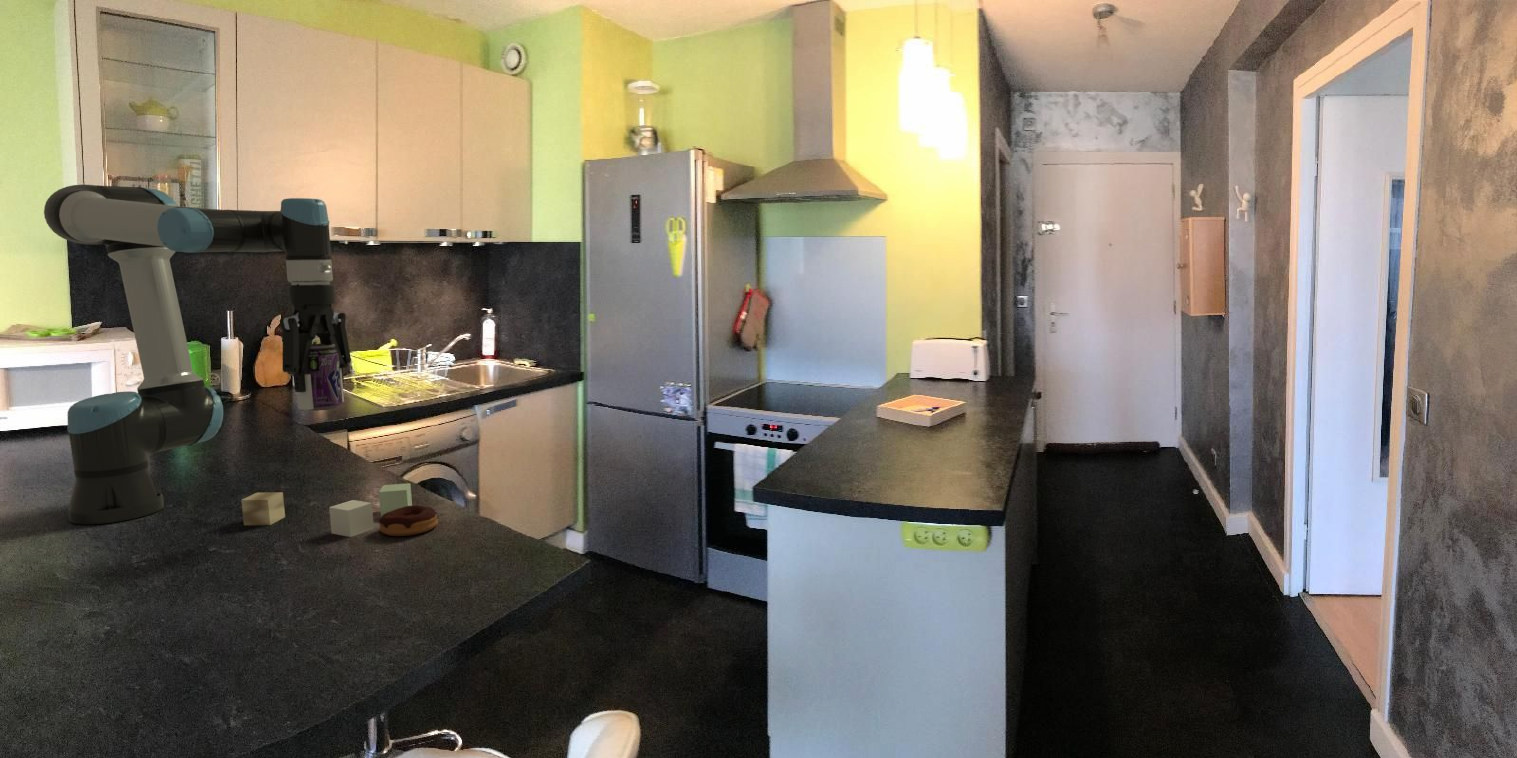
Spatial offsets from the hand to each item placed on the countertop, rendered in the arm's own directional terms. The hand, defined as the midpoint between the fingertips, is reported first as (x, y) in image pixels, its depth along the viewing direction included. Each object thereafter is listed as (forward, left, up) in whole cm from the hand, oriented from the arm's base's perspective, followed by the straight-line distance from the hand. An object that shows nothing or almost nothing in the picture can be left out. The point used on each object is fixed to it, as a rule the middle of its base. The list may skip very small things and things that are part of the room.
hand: (321, 405), depth 162 cm
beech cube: (-11, -5, -22) cm, 25 cm away
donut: (+20, -3, -22) cm, 30 cm away
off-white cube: (+10, -6, -22) cm, 25 cm away
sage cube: (+10, +6, -22) cm, 25 cm away
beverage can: (0, 0, -1) cm, 1 cm away
